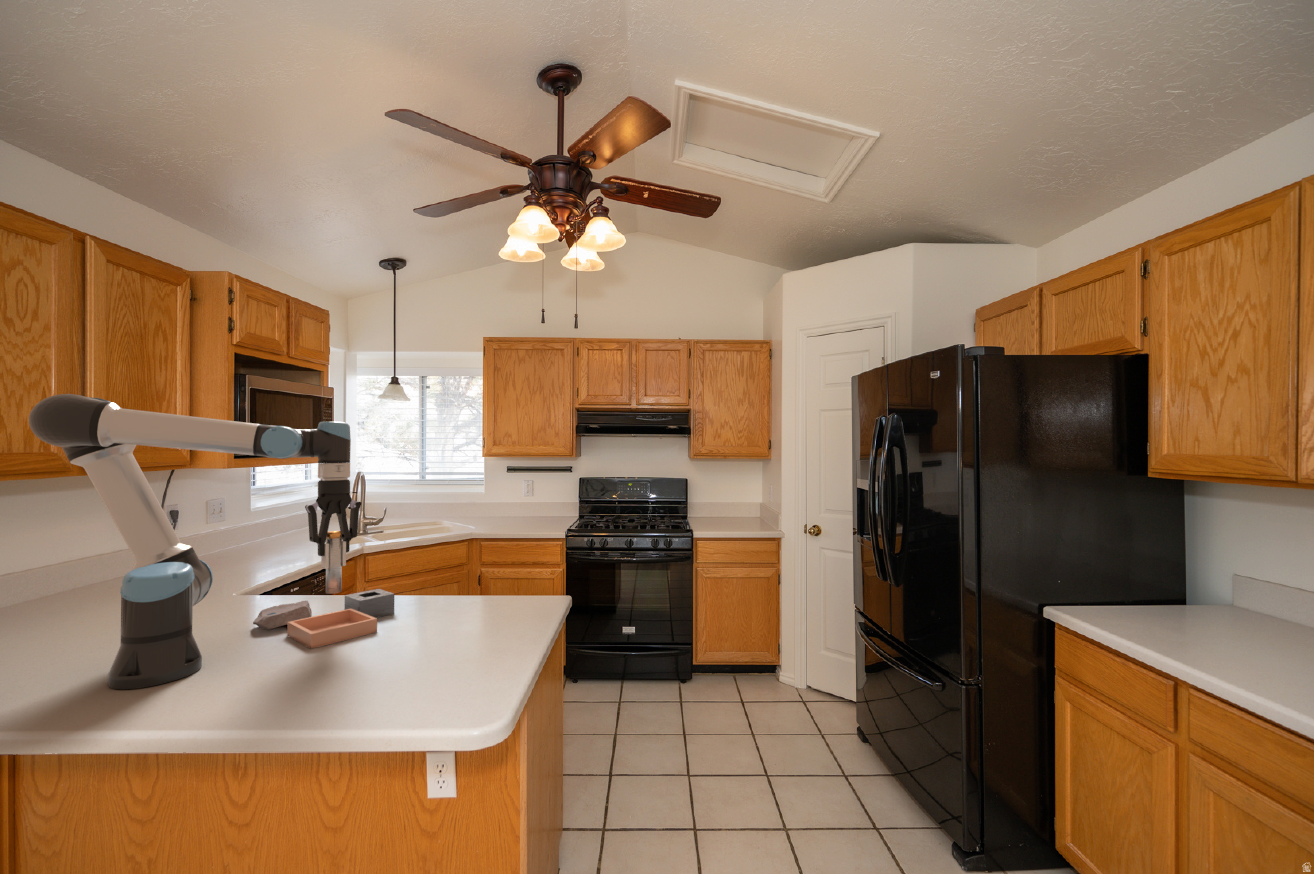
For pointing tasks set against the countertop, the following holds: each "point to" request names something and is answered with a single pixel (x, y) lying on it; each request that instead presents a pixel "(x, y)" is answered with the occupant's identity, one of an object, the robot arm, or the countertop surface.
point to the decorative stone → (282, 614)
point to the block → (371, 602)
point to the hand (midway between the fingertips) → (333, 566)
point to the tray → (331, 627)
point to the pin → (334, 562)
